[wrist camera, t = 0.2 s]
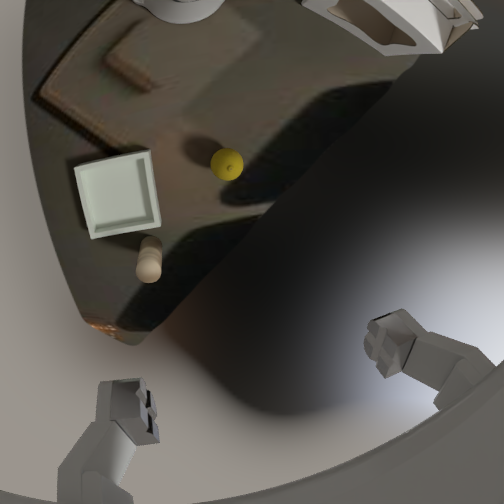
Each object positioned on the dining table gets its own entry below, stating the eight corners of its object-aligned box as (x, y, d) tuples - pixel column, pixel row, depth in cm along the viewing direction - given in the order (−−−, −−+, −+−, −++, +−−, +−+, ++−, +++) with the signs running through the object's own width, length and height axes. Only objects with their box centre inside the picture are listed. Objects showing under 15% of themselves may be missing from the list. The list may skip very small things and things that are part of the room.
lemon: (206, 173, 53) (211, 184, 46) (210, 143, 51) (216, 150, 44) (235, 175, 55) (244, 187, 48) (240, 147, 52) (250, 154, 46)
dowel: (138, 237, 56) (133, 263, 47) (159, 234, 56) (158, 258, 48) (143, 257, 58) (139, 284, 49) (163, 253, 59) (163, 280, 50)
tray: (78, 164, 46) (73, 167, 43) (150, 148, 48) (148, 151, 46) (94, 232, 53) (91, 239, 50) (161, 220, 55) (160, 226, 53)
